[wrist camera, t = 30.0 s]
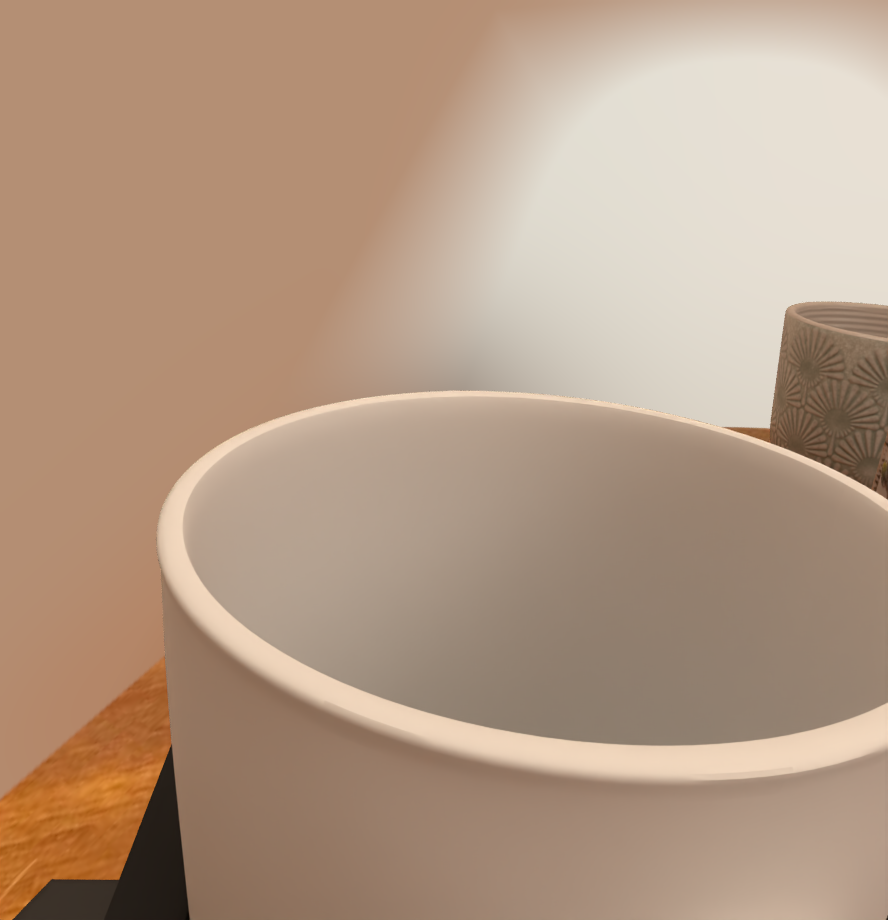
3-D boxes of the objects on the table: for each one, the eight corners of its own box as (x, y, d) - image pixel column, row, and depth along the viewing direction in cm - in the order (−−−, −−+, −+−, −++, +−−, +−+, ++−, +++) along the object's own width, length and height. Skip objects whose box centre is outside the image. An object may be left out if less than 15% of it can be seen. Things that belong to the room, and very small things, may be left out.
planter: (904, 563, 60) (966, 358, 54) (710, 481, 72) (744, 308, 67) (1002, 514, 69) (1063, 336, 64) (815, 450, 82) (853, 296, 76)
